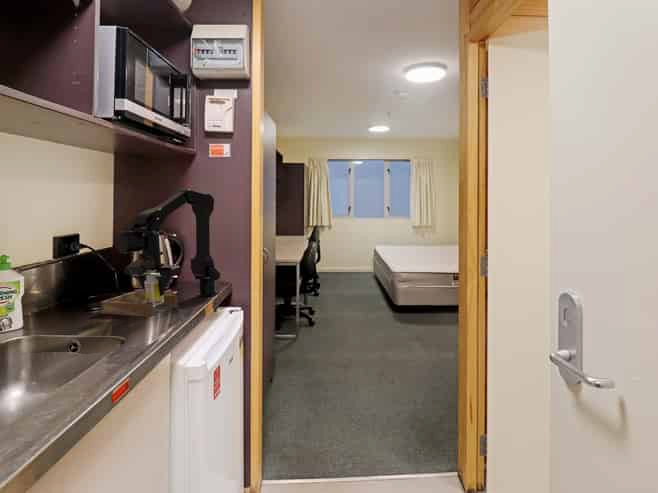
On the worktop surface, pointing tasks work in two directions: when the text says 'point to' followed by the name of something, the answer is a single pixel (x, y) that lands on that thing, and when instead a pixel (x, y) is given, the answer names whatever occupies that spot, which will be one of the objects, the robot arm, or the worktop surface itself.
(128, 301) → the channel
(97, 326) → the worktop surface
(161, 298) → the supplement bottle
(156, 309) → the end tile
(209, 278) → the robot arm
